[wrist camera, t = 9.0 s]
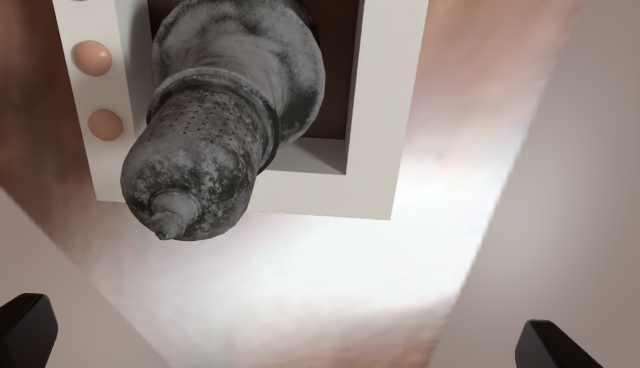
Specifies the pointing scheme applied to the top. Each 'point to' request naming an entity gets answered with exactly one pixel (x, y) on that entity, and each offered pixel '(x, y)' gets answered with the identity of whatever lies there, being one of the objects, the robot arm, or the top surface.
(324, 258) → the top surface
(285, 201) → the socket block
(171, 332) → the top surface
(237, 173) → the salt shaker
